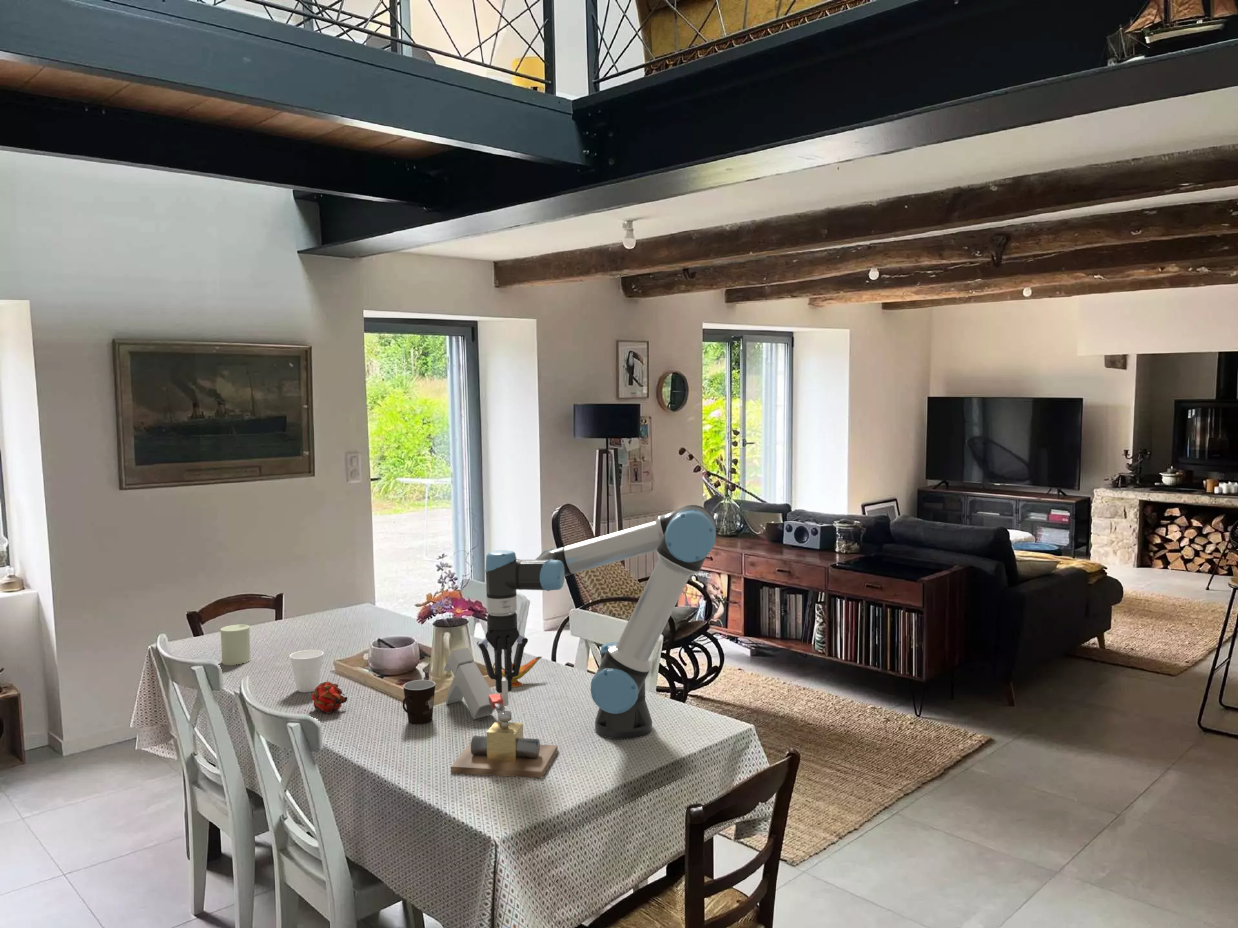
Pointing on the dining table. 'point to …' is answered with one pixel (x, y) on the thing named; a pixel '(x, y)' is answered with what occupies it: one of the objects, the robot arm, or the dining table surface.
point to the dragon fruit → (328, 697)
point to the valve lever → (499, 708)
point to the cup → (306, 669)
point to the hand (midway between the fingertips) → (504, 704)
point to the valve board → (505, 764)
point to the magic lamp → (521, 671)
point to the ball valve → (505, 743)
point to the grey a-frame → (468, 684)
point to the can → (235, 644)
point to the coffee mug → (419, 701)
